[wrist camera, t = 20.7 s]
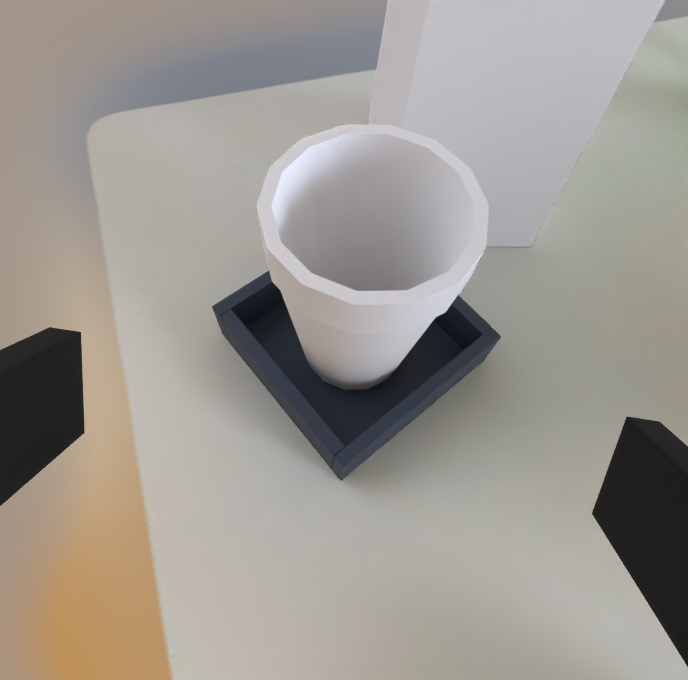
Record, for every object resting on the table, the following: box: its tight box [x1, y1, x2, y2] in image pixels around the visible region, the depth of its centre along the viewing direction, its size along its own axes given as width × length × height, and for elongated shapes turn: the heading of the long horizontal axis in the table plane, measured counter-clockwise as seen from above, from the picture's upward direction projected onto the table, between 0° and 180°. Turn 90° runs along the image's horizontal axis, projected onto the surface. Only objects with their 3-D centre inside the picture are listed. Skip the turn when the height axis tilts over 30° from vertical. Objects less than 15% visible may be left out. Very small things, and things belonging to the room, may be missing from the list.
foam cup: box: [256, 124, 489, 390], centre depth 26 cm, size 10×9×13 cm
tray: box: [212, 271, 501, 480], centre depth 31 cm, size 12×12×4 cm
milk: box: [368, 0, 665, 247], centre depth 27 cm, size 12×12×26 cm
